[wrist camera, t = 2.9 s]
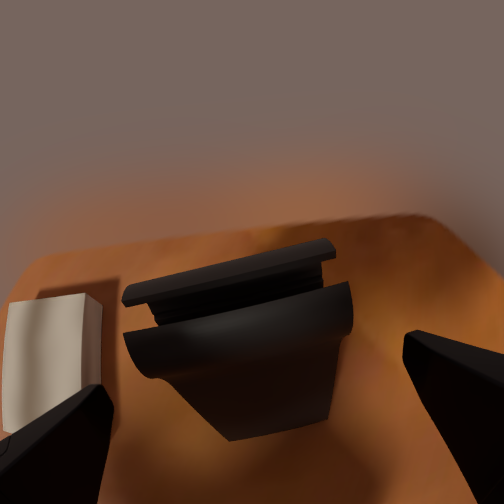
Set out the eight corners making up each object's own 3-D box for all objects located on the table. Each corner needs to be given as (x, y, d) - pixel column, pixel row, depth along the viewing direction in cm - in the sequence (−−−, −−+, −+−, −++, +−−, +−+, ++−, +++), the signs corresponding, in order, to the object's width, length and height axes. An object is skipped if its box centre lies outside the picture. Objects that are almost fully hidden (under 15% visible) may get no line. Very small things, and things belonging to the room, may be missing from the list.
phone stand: (326, 419, 16) (396, 435, 5) (229, 441, 16) (143, 483, 5) (291, 288, 20) (293, 150, 10) (204, 308, 20) (124, 192, 10)
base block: (102, 305, 21) (85, 292, 19) (105, 449, 15) (85, 451, 13) (27, 313, 21) (9, 302, 19) (23, 432, 16) (3, 430, 13)
